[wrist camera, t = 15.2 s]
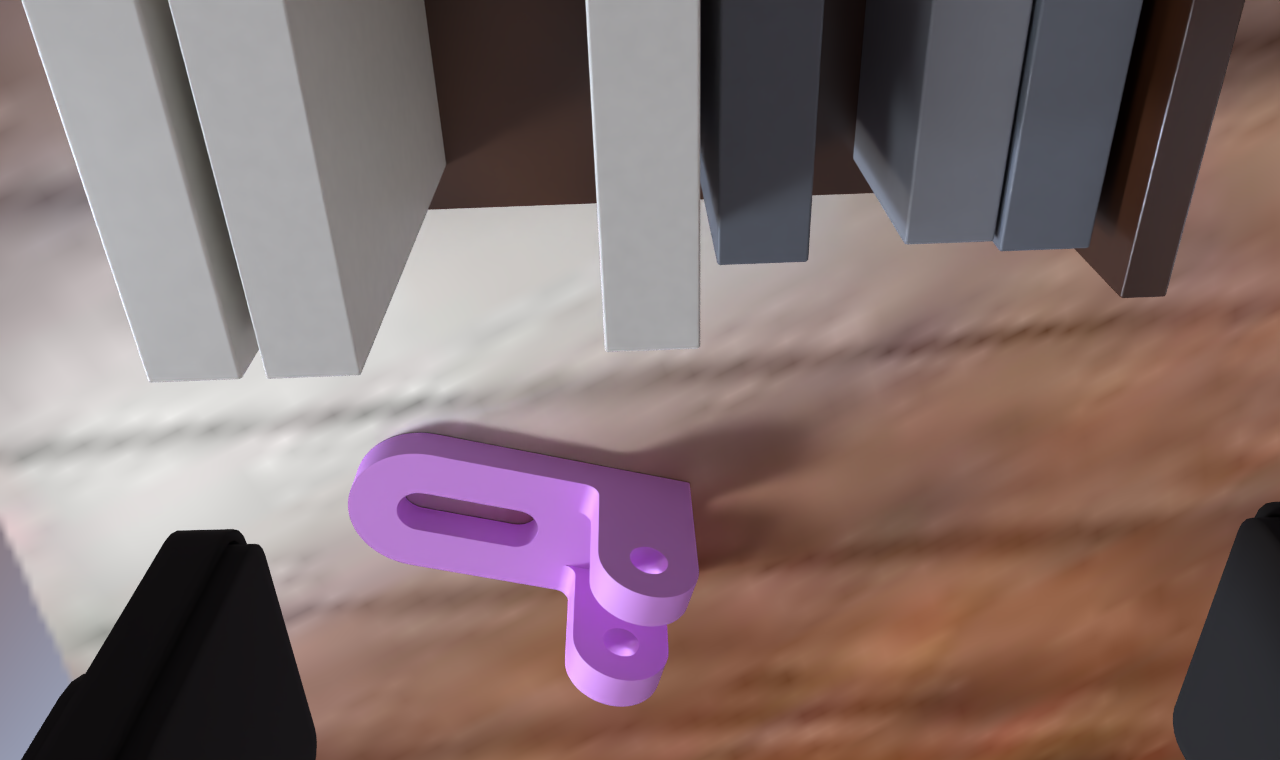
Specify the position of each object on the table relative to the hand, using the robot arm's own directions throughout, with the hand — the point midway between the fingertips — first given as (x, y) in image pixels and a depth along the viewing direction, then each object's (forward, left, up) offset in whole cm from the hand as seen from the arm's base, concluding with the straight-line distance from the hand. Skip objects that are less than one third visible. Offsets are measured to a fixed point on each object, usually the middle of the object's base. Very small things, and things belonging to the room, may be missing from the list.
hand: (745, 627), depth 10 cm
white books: (+9, 0, -24) cm, 26 cm away
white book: (+1, -1, -24) cm, 24 cm away
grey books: (-7, 0, -24) cm, 25 cm away
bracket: (+6, +18, -26) cm, 32 cm away
